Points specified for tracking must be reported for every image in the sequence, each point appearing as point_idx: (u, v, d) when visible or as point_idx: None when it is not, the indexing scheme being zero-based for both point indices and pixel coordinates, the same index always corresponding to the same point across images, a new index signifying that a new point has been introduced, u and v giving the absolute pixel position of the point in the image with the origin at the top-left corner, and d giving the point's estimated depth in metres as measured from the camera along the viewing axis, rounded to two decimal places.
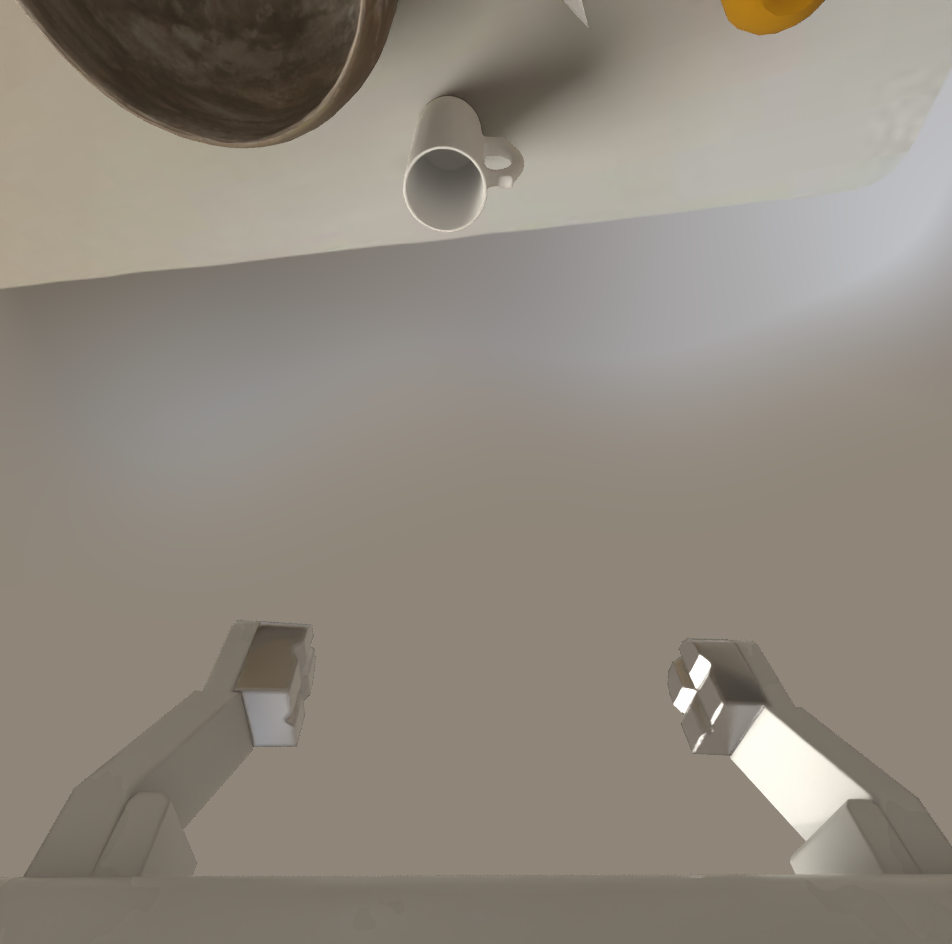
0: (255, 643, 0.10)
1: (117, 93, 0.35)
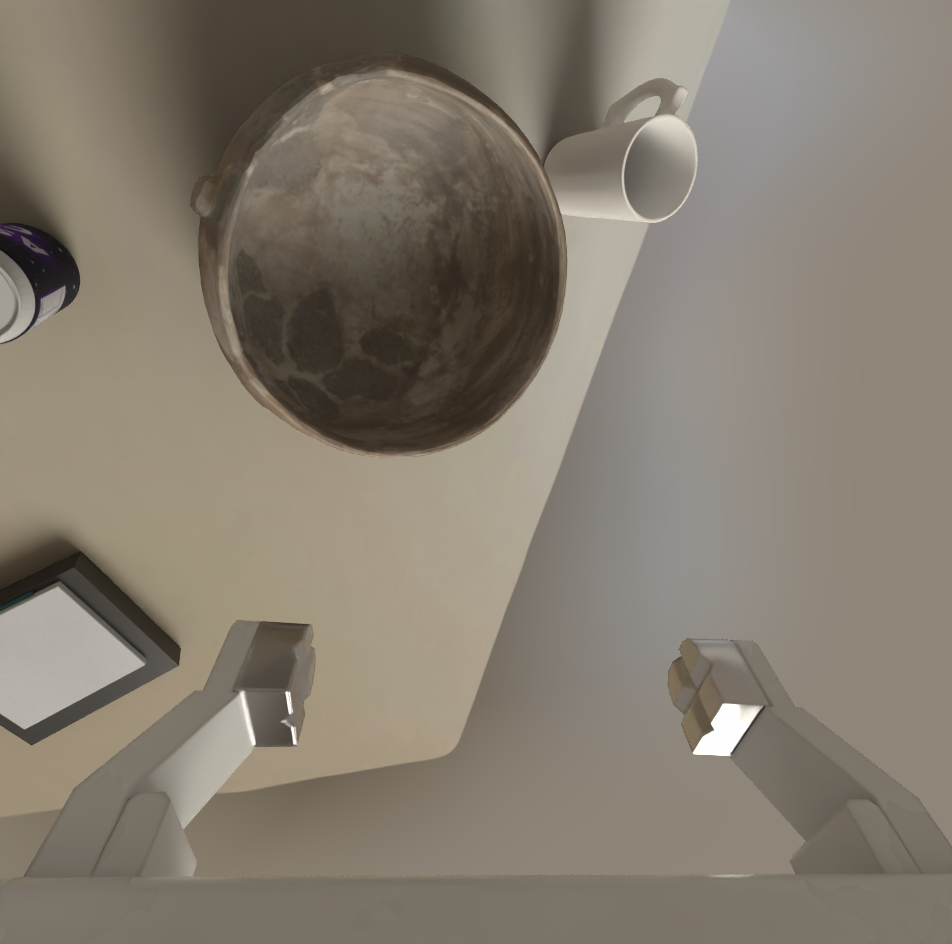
0: (255, 643, 0.10)
1: (472, 428, 0.38)
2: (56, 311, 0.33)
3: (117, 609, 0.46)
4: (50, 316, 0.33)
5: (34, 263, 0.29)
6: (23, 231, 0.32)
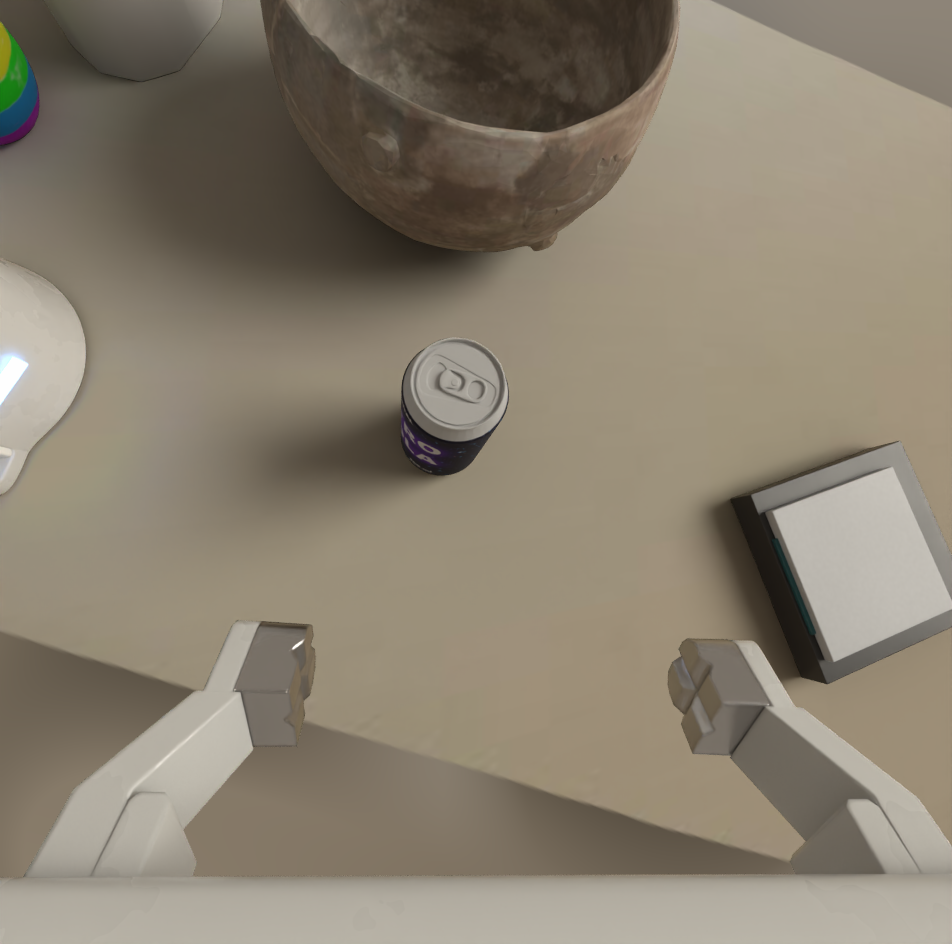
0: (255, 643, 0.10)
1: None
2: None
3: (811, 474, 0.39)
4: None
5: None
6: None
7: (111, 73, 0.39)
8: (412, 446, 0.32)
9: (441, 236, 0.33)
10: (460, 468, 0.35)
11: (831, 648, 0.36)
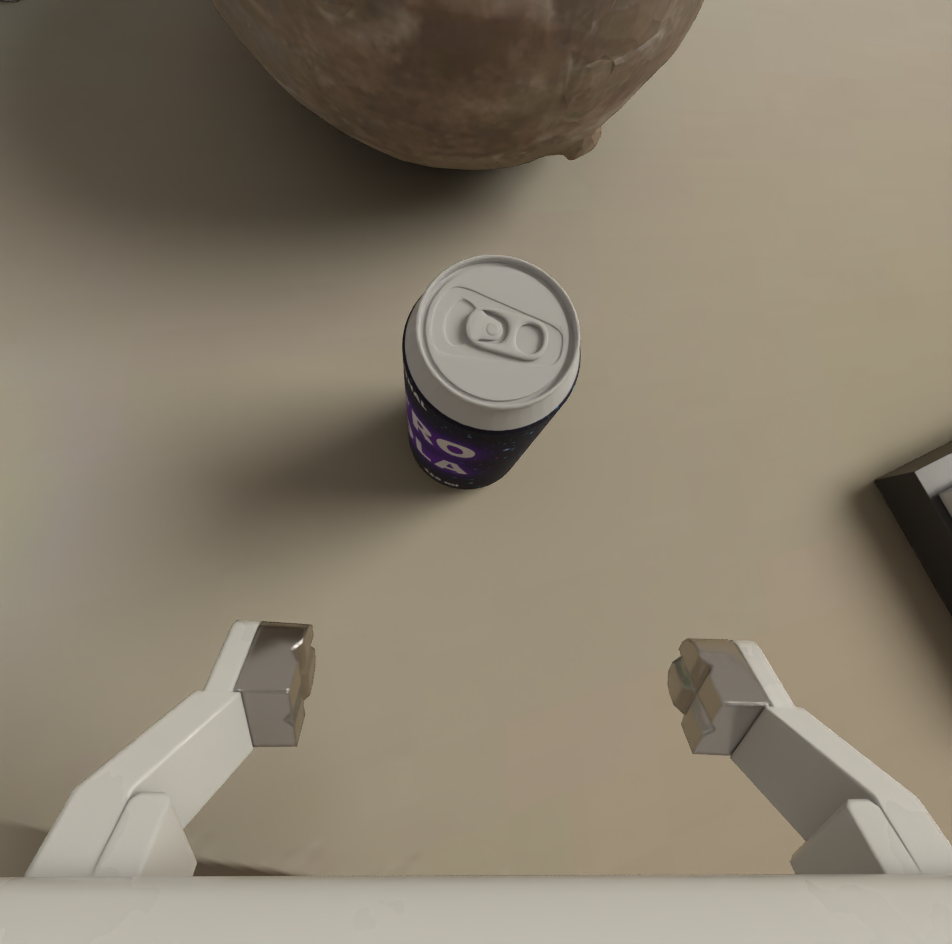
0: (255, 643, 0.10)
1: None
2: None
3: None
4: None
5: None
6: None
7: None
8: (428, 450, 0.21)
9: (439, 134, 0.22)
10: (499, 476, 0.24)
11: None
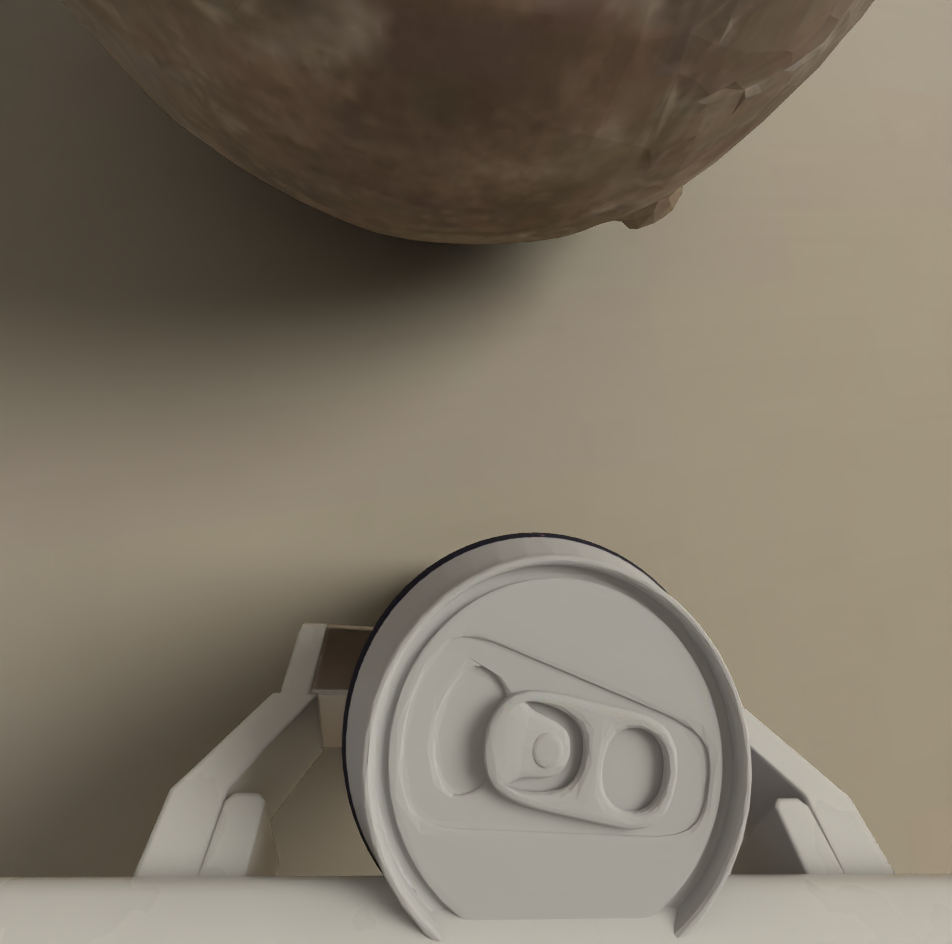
0: (325, 646, 0.10)
1: None
2: None
3: None
4: None
5: None
6: None
7: None
8: None
9: (431, 209, 0.13)
10: None
11: None
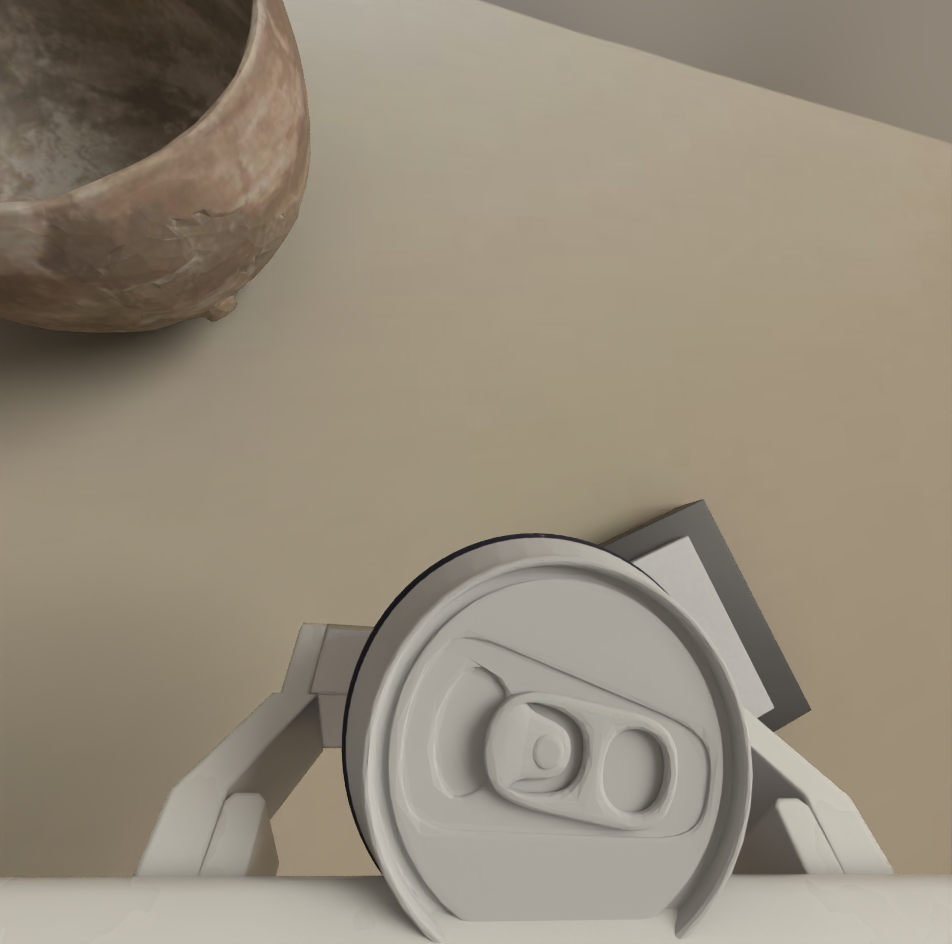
0: (325, 646, 0.10)
1: None
2: None
3: None
4: None
5: None
6: None
7: None
8: None
9: (43, 325, 0.26)
10: None
11: None
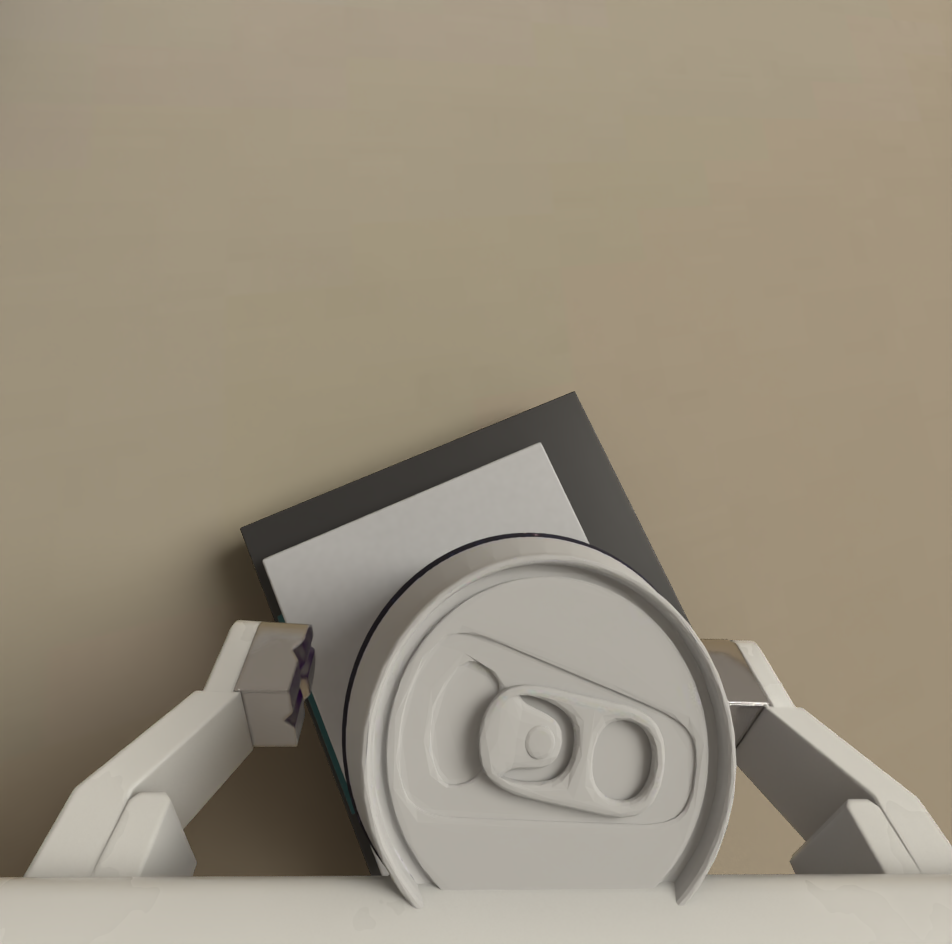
0: (255, 643, 0.10)
1: None
2: None
3: (379, 473, 0.20)
4: None
5: None
6: None
7: None
8: None
9: None
10: None
11: None
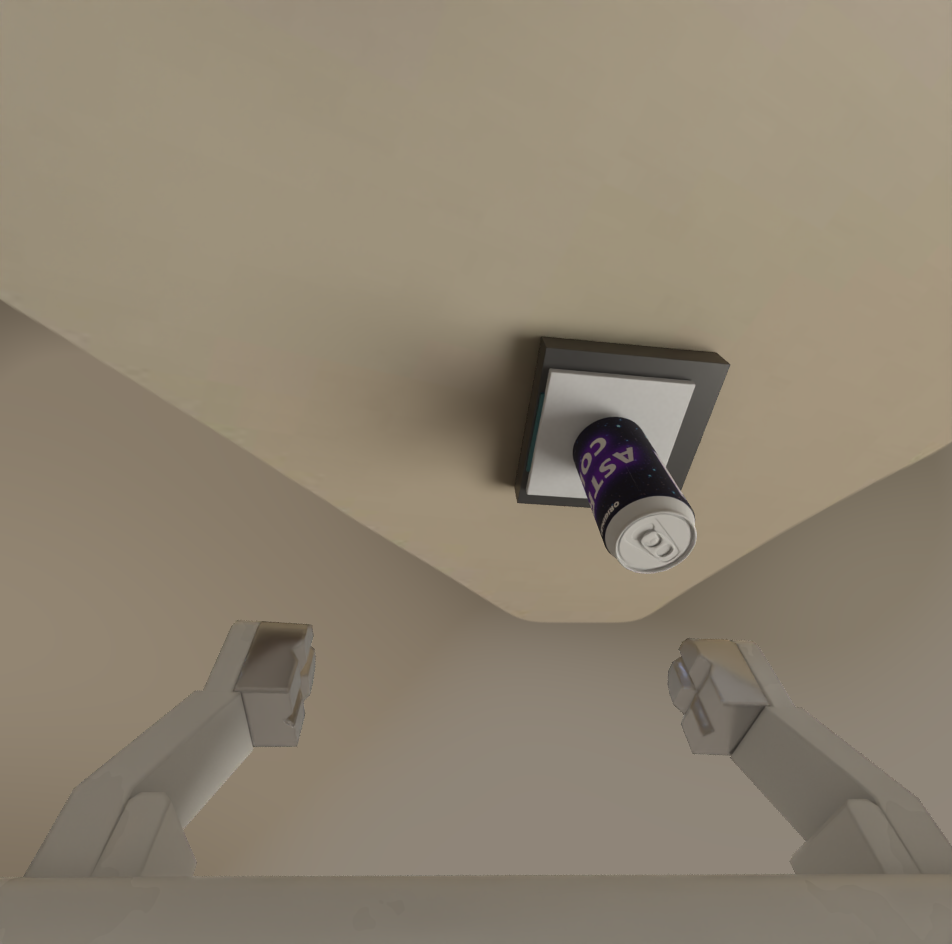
0: (255, 643, 0.10)
1: None
2: None
3: (618, 355, 0.38)
4: None
5: (650, 474, 0.32)
6: (602, 444, 0.37)
7: None
8: (586, 494, 0.37)
9: None
10: None
11: (531, 486, 0.43)
